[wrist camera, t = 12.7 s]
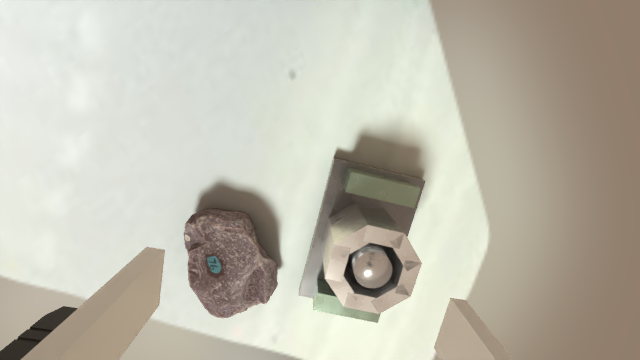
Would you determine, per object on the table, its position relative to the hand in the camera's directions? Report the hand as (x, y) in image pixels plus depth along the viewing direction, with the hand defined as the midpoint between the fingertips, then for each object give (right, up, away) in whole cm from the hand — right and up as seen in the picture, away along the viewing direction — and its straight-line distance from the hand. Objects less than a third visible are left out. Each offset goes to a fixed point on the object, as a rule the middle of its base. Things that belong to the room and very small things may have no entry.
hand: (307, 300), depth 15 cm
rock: (-9, -3, +22) cm, 24 cm away
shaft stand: (+5, -1, +22) cm, 22 cm away
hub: (+5, -1, +21) cm, 21 cm away
